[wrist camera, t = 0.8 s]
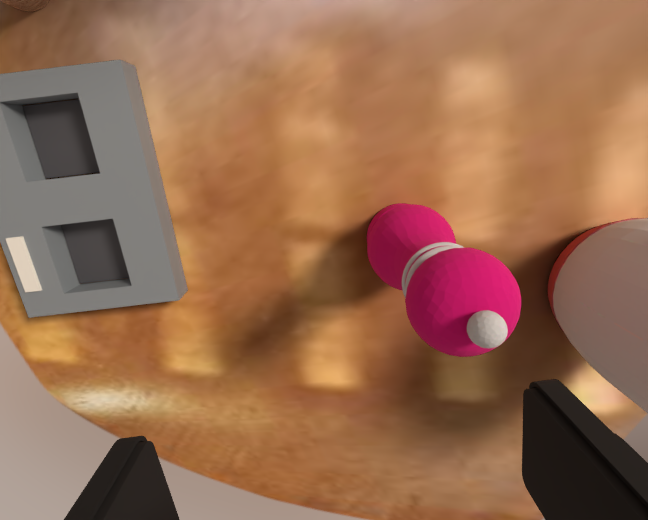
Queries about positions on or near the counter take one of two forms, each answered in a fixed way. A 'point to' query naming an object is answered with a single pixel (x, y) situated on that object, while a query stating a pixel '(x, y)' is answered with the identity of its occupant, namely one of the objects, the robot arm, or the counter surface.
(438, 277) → the pepper mill
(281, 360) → the counter surface
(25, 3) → the bushing
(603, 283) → the citrus juicer
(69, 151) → the block
